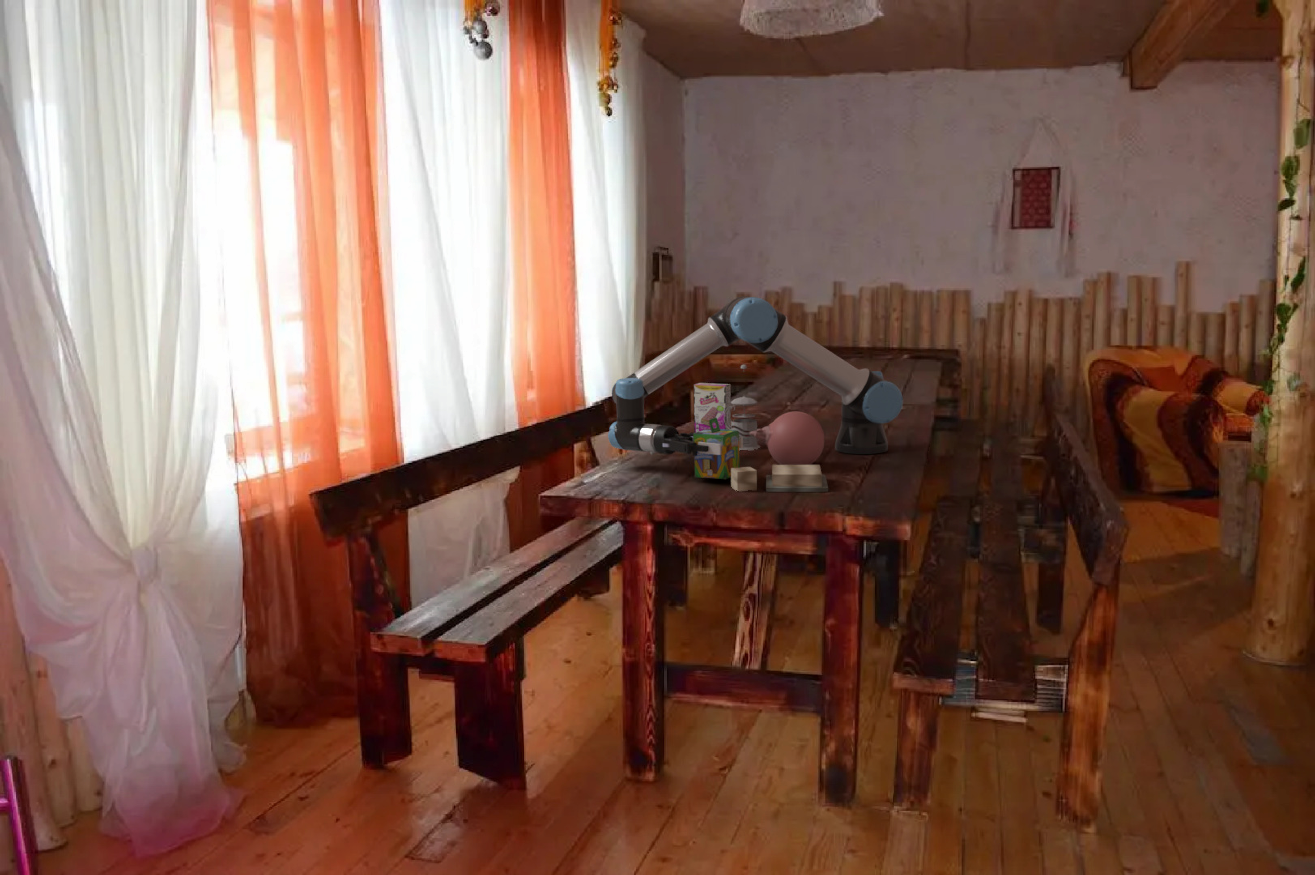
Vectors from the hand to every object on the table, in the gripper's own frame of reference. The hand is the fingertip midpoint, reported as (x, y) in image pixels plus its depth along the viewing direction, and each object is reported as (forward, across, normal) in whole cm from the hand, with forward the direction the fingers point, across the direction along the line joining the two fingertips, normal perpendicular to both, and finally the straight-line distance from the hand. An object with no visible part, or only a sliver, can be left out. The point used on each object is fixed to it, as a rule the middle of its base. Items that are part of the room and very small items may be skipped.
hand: (731, 446), depth 272 cm
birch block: (+7, +5, -9) cm, 13 cm away
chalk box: (-4, 0, -8) cm, 9 cm away
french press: (-24, -43, -10) cm, 50 cm away
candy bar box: (-44, -58, -10) cm, 73 cm away
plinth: (+16, -5, -9) cm, 19 cm away
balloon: (+3, -23, -10) cm, 25 cm away
